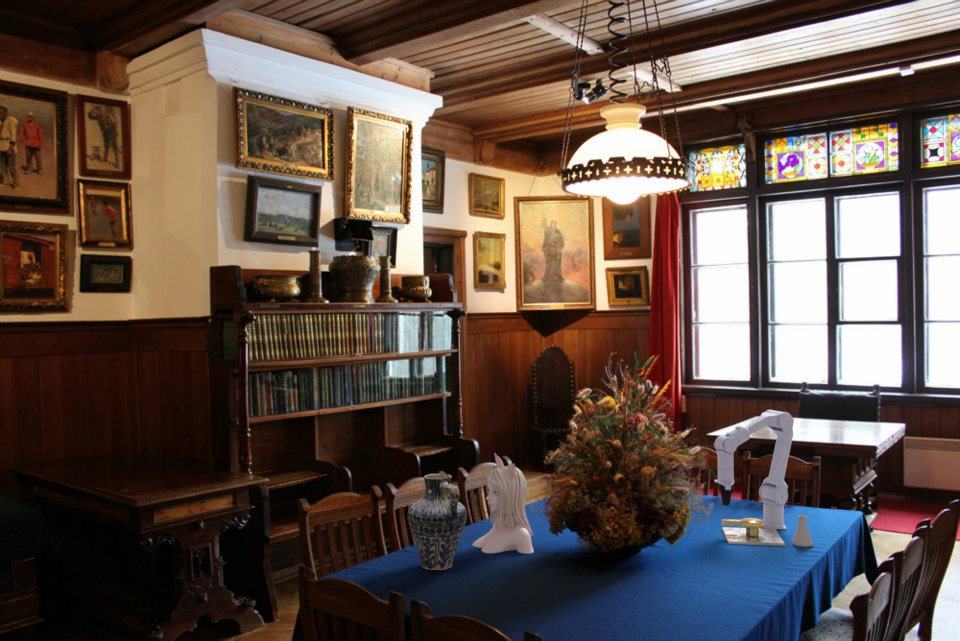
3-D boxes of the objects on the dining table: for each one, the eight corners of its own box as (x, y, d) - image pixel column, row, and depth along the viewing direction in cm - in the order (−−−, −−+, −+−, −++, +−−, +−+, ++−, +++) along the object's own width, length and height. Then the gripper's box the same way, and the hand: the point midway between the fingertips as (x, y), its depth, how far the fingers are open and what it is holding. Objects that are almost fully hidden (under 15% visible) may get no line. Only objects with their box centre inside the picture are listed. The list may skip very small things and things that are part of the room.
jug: (396, 567, 258) (394, 476, 257) (438, 553, 272) (437, 467, 272) (440, 581, 244) (438, 485, 243) (482, 565, 258) (480, 474, 257)
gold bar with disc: (762, 530, 288) (762, 518, 288) (766, 537, 279) (766, 524, 279) (721, 529, 291) (720, 516, 290) (723, 535, 282) (723, 523, 282)
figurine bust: (463, 539, 289) (461, 452, 288) (512, 531, 297) (511, 447, 297) (494, 559, 265) (492, 464, 264) (546, 550, 273) (545, 459, 273)
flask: (817, 547, 272) (816, 518, 272) (796, 547, 272) (795, 519, 272) (808, 541, 279) (808, 513, 279) (788, 541, 279) (788, 513, 279)
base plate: (722, 529, 295) (722, 518, 295) (775, 531, 291) (775, 520, 291) (728, 543, 277) (727, 532, 277) (784, 546, 274) (784, 534, 274)
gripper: (712, 464, 299) (712, 500, 299) (716, 472, 284) (716, 509, 284) (731, 465, 297) (732, 500, 297) (736, 472, 283) (737, 510, 283)
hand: (726, 505), depth 291 cm, fingers closed
